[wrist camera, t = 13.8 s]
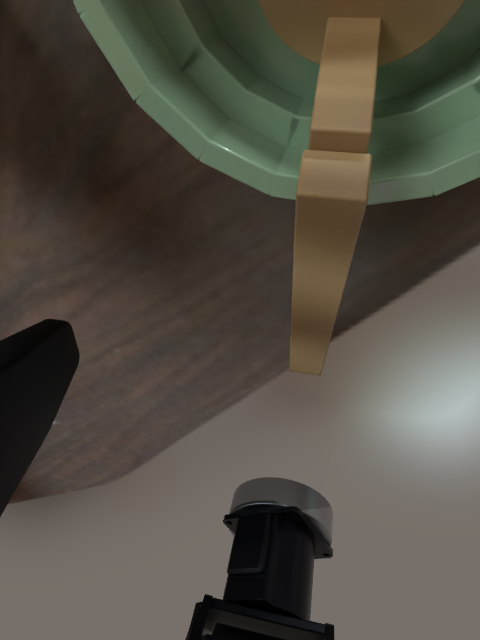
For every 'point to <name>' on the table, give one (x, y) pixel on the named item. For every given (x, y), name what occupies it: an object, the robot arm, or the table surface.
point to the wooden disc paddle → (339, 141)
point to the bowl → (291, 94)
